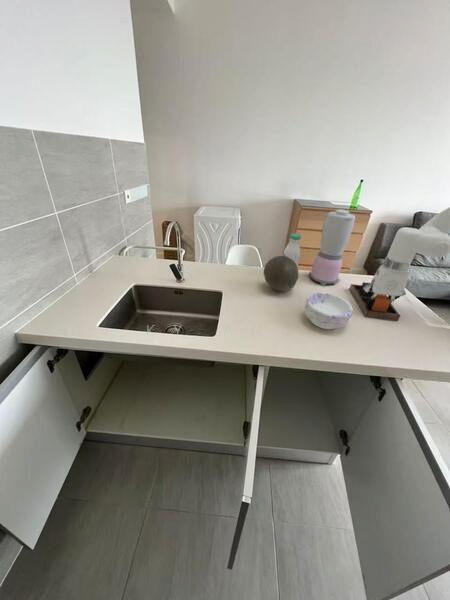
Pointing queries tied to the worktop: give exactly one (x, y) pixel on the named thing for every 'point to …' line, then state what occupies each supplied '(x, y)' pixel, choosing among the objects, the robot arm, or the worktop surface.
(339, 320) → the paper bowls
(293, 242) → the milk bottle
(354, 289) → the holder
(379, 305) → the orange cube
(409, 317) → the worktop surface
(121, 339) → the worktop surface
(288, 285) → the dark brown ball
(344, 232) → the blender
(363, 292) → the black cube
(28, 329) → the worktop surface
